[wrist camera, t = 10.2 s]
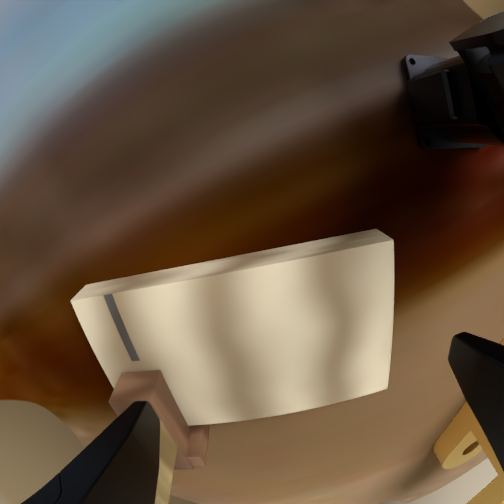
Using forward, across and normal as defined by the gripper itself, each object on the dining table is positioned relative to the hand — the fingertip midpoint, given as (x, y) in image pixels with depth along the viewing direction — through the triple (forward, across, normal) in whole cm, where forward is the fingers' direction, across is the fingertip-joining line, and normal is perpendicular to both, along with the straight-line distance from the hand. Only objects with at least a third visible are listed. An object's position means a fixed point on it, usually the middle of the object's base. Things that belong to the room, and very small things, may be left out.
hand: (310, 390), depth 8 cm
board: (+12, +3, +6) cm, 14 cm away
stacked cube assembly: (+11, +10, +10) cm, 18 cm away
